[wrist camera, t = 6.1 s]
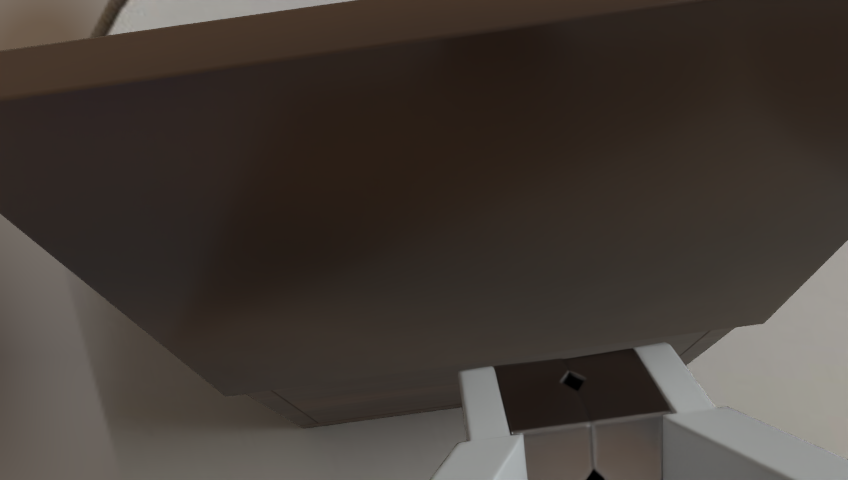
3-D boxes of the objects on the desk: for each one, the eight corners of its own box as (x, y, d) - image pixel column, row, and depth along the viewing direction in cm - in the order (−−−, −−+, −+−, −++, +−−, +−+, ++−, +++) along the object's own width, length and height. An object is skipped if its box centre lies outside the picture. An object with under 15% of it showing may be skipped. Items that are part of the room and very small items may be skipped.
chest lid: (-106, 64, 8) (-124, 116, 8) (1114, -109, 8) (1155, -65, 8) (225, 368, 19) (225, 397, 19) (754, 296, 19) (764, 323, 18)
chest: (289, 173, 32) (227, 51, 24) (602, 129, 32) (648, -8, 24) (302, 428, 27) (230, 385, 19) (668, 379, 27) (753, 314, 19)
